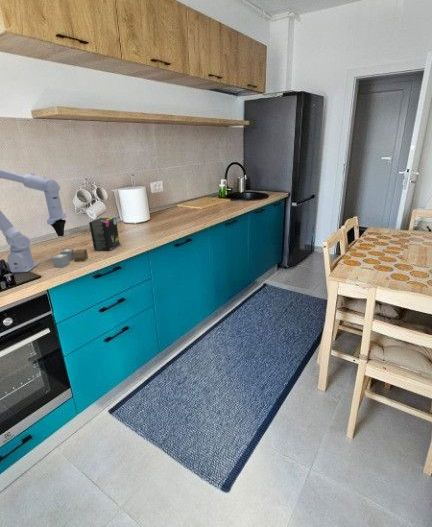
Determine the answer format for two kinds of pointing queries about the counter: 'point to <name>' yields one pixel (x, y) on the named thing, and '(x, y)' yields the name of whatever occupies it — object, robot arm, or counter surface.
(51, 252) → the counter surface
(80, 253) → the walnut cube
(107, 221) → the tampon box
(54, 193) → the robot arm
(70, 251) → the grey dot cube
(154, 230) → the counter surface
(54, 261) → the grey dot cube
